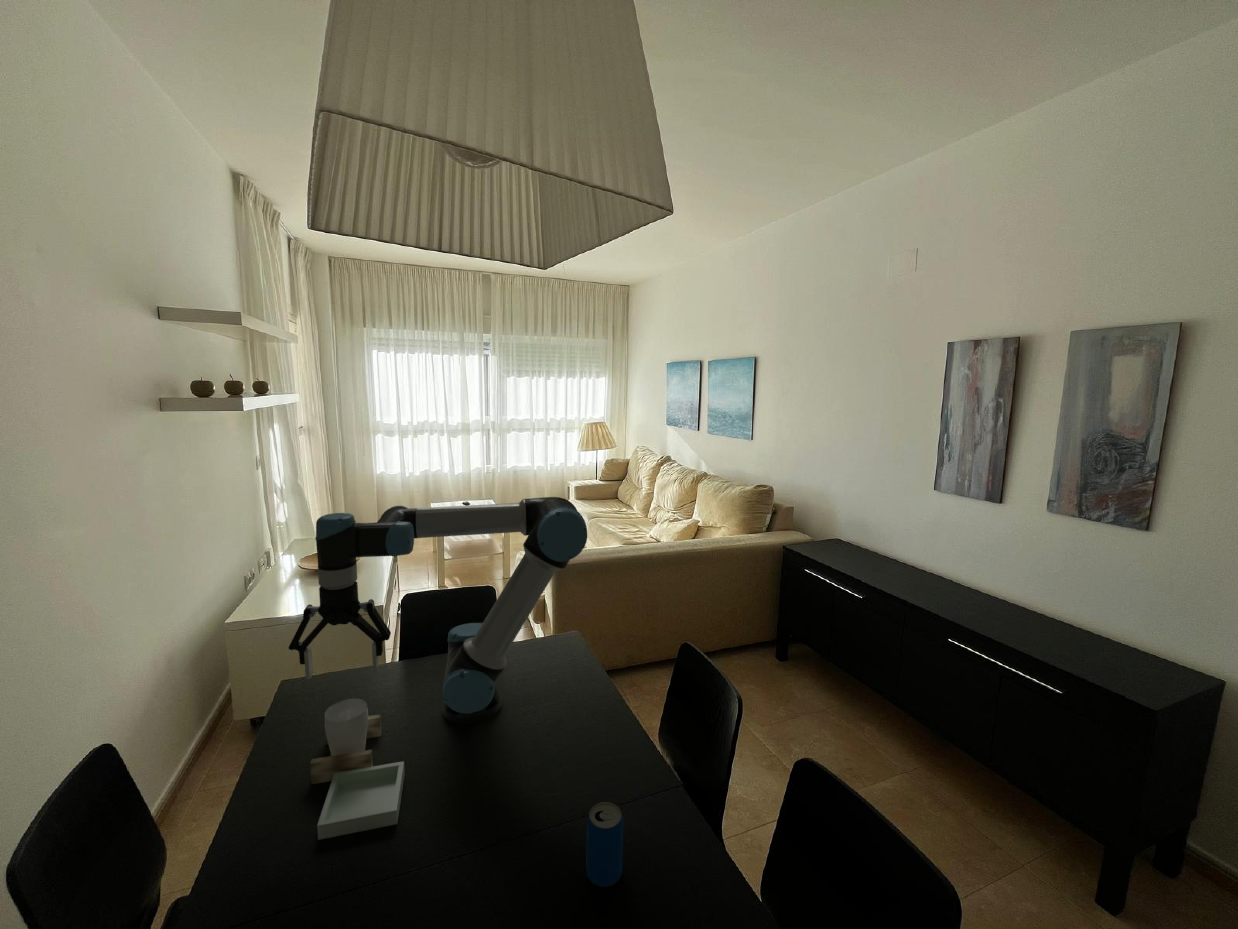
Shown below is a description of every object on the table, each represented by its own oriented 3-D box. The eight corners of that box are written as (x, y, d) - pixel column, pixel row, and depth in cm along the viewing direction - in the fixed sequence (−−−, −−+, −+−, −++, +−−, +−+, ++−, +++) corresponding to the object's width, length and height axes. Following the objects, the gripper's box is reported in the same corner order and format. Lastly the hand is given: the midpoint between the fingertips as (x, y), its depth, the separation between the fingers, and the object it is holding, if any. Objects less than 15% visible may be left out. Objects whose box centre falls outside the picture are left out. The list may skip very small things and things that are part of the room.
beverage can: (585, 858, 97) (586, 801, 95) (620, 856, 97) (621, 799, 95) (586, 891, 90) (587, 830, 88) (623, 889, 91) (625, 829, 89)
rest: (381, 732, 130) (380, 714, 129) (371, 774, 116) (370, 753, 115) (327, 741, 126) (326, 722, 125) (311, 784, 113) (310, 763, 112)
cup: (352, 774, 116) (349, 725, 114) (317, 767, 118) (314, 719, 116) (378, 747, 125) (376, 701, 123) (345, 741, 126) (343, 695, 125)
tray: (404, 773, 116) (404, 761, 116) (397, 824, 103) (396, 810, 103) (335, 786, 112) (334, 773, 112) (318, 840, 99) (317, 825, 99)
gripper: (401, 573, 122) (404, 657, 125) (279, 581, 115) (285, 670, 118) (397, 585, 115) (400, 674, 118) (267, 594, 108) (274, 689, 111)
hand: (343, 672), depth 118 cm, fingers open, 13 cm apart
